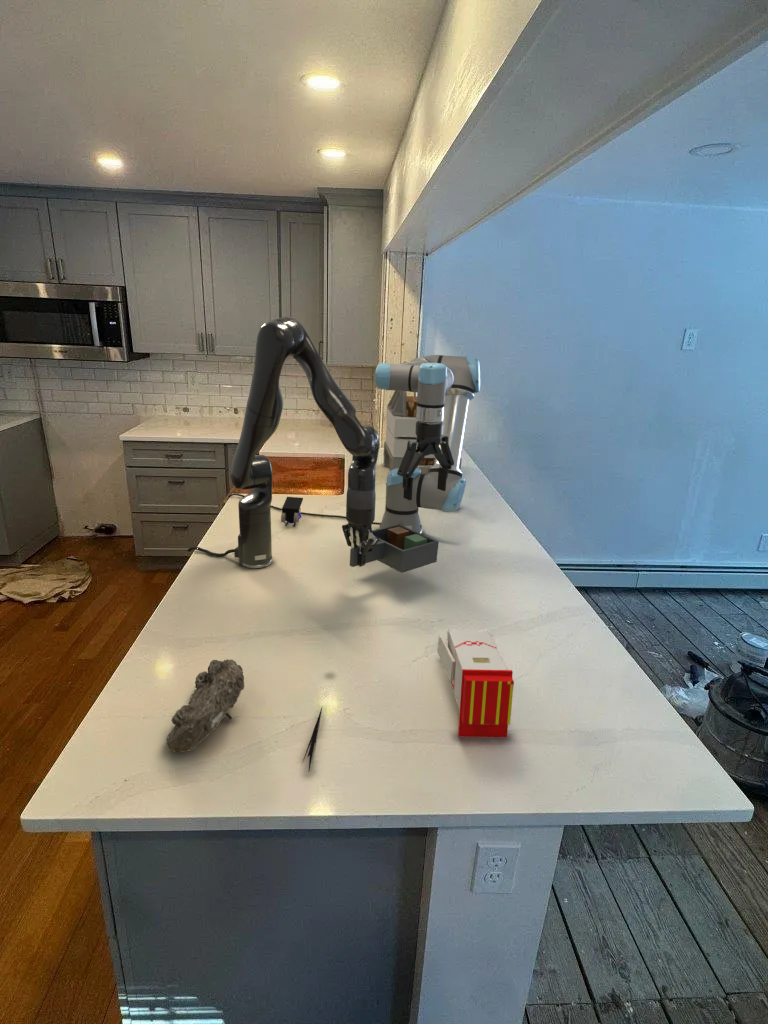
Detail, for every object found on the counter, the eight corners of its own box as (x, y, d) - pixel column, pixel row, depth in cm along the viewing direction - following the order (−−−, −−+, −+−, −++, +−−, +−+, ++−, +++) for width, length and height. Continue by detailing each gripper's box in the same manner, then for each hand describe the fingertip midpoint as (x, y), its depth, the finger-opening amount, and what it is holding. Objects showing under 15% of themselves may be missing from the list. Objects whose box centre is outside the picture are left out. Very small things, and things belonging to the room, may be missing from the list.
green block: (403, 556, 161) (404, 536, 159) (414, 553, 164) (416, 533, 162) (413, 561, 158) (415, 541, 156) (425, 558, 161) (427, 538, 159)
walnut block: (386, 548, 166) (387, 529, 164) (397, 545, 169) (399, 526, 167) (396, 553, 163) (397, 534, 161) (407, 550, 166) (409, 531, 164)
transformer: (382, 463, 289) (386, 382, 275) (445, 464, 293) (451, 384, 279) (390, 482, 257) (394, 392, 243) (460, 483, 261) (468, 394, 247)
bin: (332, 560, 157) (333, 539, 155) (397, 543, 173) (399, 523, 171) (370, 582, 146) (372, 560, 144) (436, 561, 161) (438, 541, 159)
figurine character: (299, 532, 200) (304, 513, 214) (298, 513, 197) (303, 495, 210) (280, 532, 200) (286, 513, 213) (279, 512, 197) (285, 494, 210)
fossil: (192, 660, 117) (244, 628, 112) (224, 691, 120) (276, 661, 115) (142, 746, 98) (202, 712, 93) (182, 779, 101) (242, 748, 96)
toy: (488, 613, 130) (523, 677, 101) (484, 667, 133) (517, 744, 104) (435, 612, 130) (455, 676, 101) (432, 666, 133) (451, 743, 103)
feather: (331, 679, 122) (336, 673, 122) (307, 777, 96) (313, 769, 95) (324, 675, 122) (329, 669, 121) (298, 772, 95) (304, 764, 95)
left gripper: (333, 498, 149) (332, 559, 155) (366, 513, 140) (363, 577, 146) (356, 494, 154) (354, 552, 160) (388, 508, 144) (385, 569, 150)
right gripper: (405, 429, 145) (401, 506, 153) (470, 418, 161) (463, 489, 168) (386, 424, 151) (383, 499, 158) (450, 414, 166) (445, 482, 174)
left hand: (358, 564), depth 153 cm, fingers closed on bin, 1 cm apart
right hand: (424, 494), depth 163 cm, fingers open, 13 cm apart
